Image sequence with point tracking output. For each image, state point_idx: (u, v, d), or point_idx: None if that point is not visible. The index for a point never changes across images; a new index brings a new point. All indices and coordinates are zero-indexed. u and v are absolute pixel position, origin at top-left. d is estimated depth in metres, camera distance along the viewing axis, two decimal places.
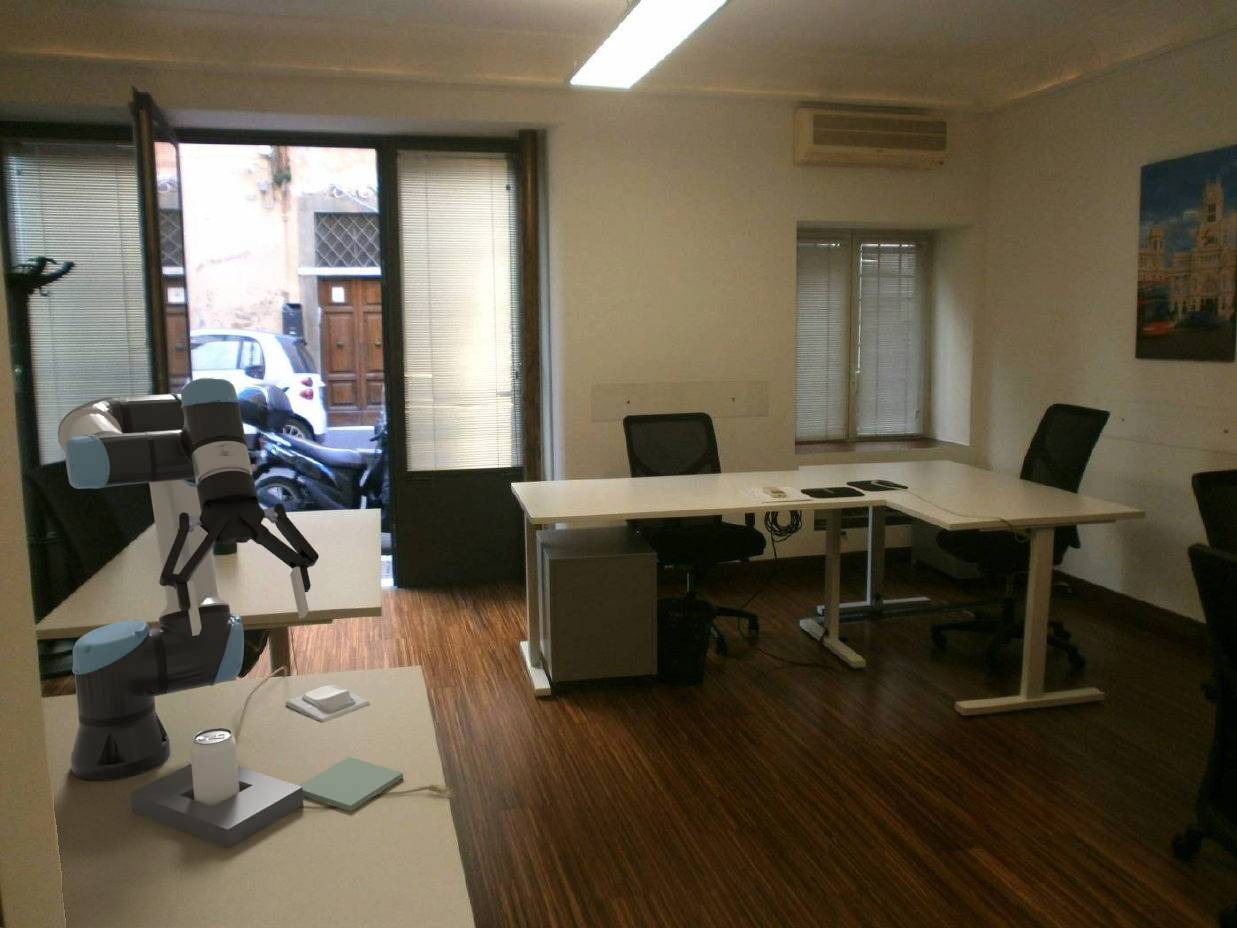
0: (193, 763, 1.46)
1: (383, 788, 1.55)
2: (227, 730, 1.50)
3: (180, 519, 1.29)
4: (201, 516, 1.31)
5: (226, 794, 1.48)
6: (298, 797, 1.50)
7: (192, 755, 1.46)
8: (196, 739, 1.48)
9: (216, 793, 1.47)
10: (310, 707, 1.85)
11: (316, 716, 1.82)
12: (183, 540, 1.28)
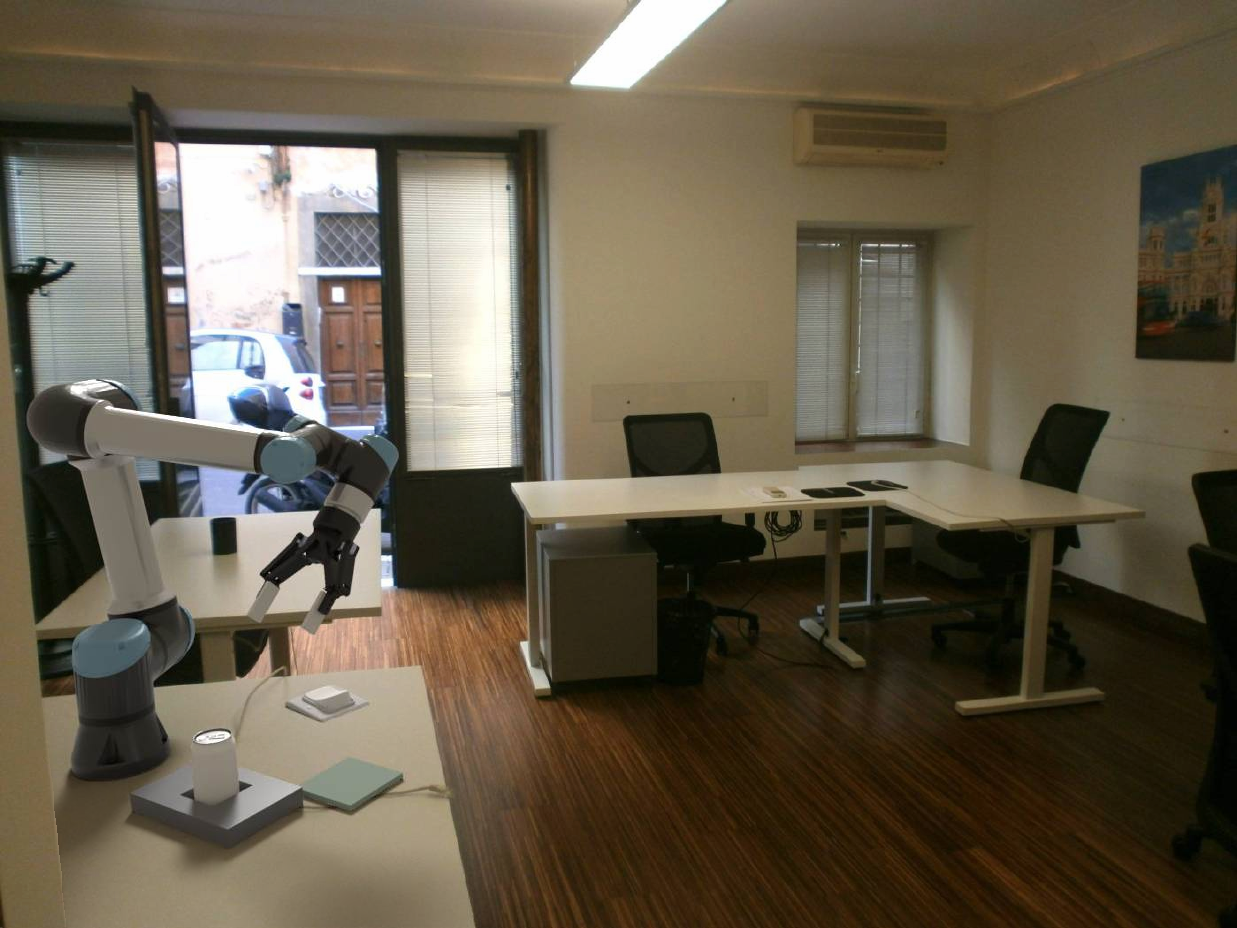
0: (193, 763, 1.46)
1: (383, 788, 1.55)
2: (227, 730, 1.50)
3: (357, 551, 1.62)
4: None
5: (226, 794, 1.48)
6: (298, 797, 1.50)
7: (192, 755, 1.46)
8: (196, 739, 1.48)
9: (216, 793, 1.47)
10: (310, 707, 1.85)
11: (316, 716, 1.82)
12: None
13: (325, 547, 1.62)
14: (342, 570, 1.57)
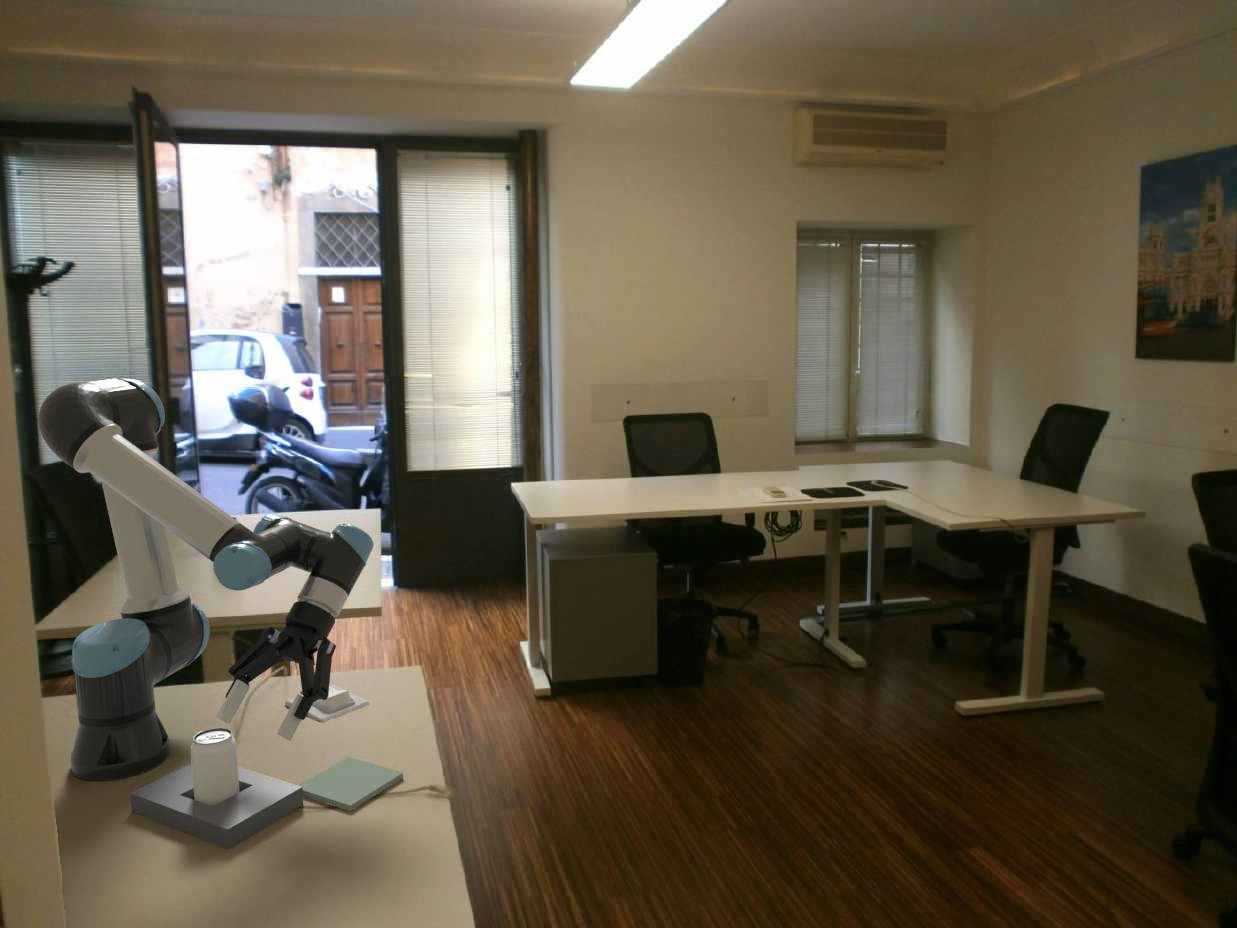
0: (193, 763, 1.46)
1: (383, 788, 1.55)
2: (227, 730, 1.50)
3: None
4: None
5: (226, 794, 1.48)
6: (298, 797, 1.50)
7: (192, 755, 1.46)
8: (196, 739, 1.48)
9: (216, 793, 1.47)
10: None
11: (315, 716, 1.82)
12: None
13: (300, 646, 1.57)
14: (320, 672, 1.53)
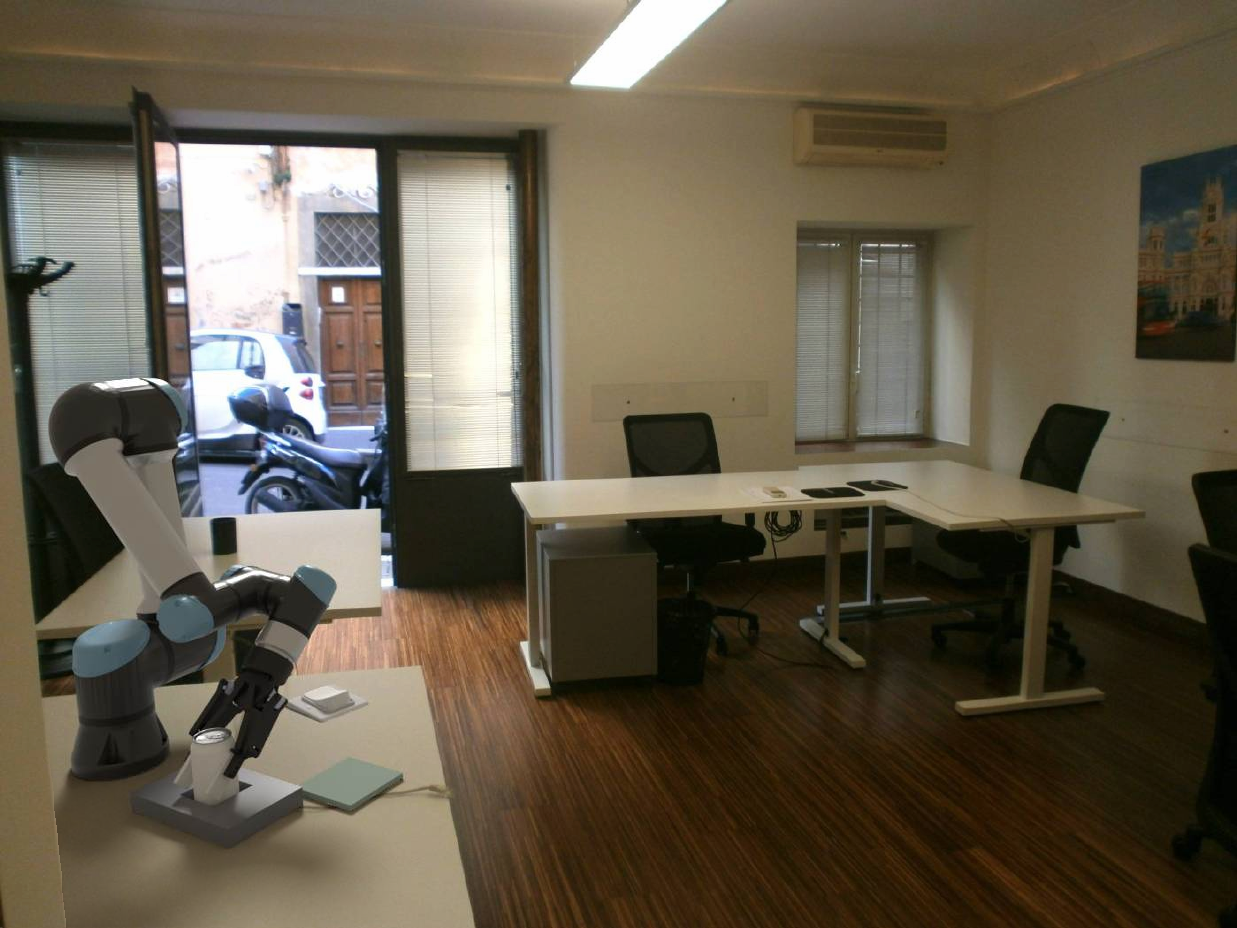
0: (193, 763, 1.46)
1: (383, 788, 1.55)
2: (227, 730, 1.50)
3: (284, 706, 1.52)
4: None
5: (226, 794, 1.48)
6: (298, 797, 1.50)
7: (192, 755, 1.46)
8: (196, 739, 1.48)
9: None
10: (310, 707, 1.85)
11: (315, 716, 1.82)
12: None
13: (252, 695, 1.52)
14: (257, 730, 1.48)
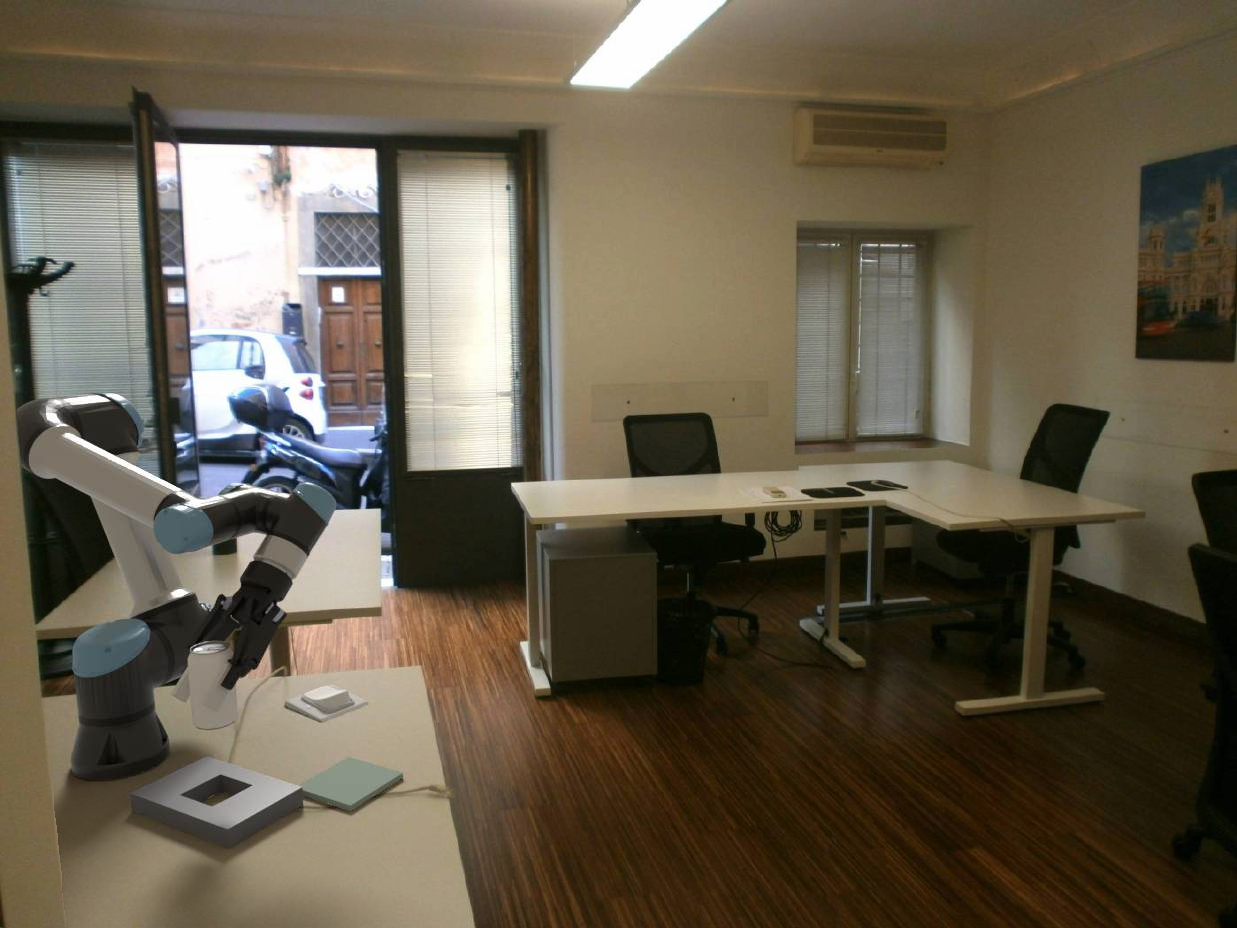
0: (190, 674, 1.44)
1: (383, 788, 1.55)
2: (225, 643, 1.48)
3: (283, 619, 1.50)
4: None
5: (224, 706, 1.45)
6: (298, 797, 1.50)
7: (189, 666, 1.44)
8: (193, 650, 1.46)
9: None
10: (309, 707, 1.85)
11: (315, 716, 1.82)
12: None
13: (250, 608, 1.50)
14: (255, 641, 1.46)
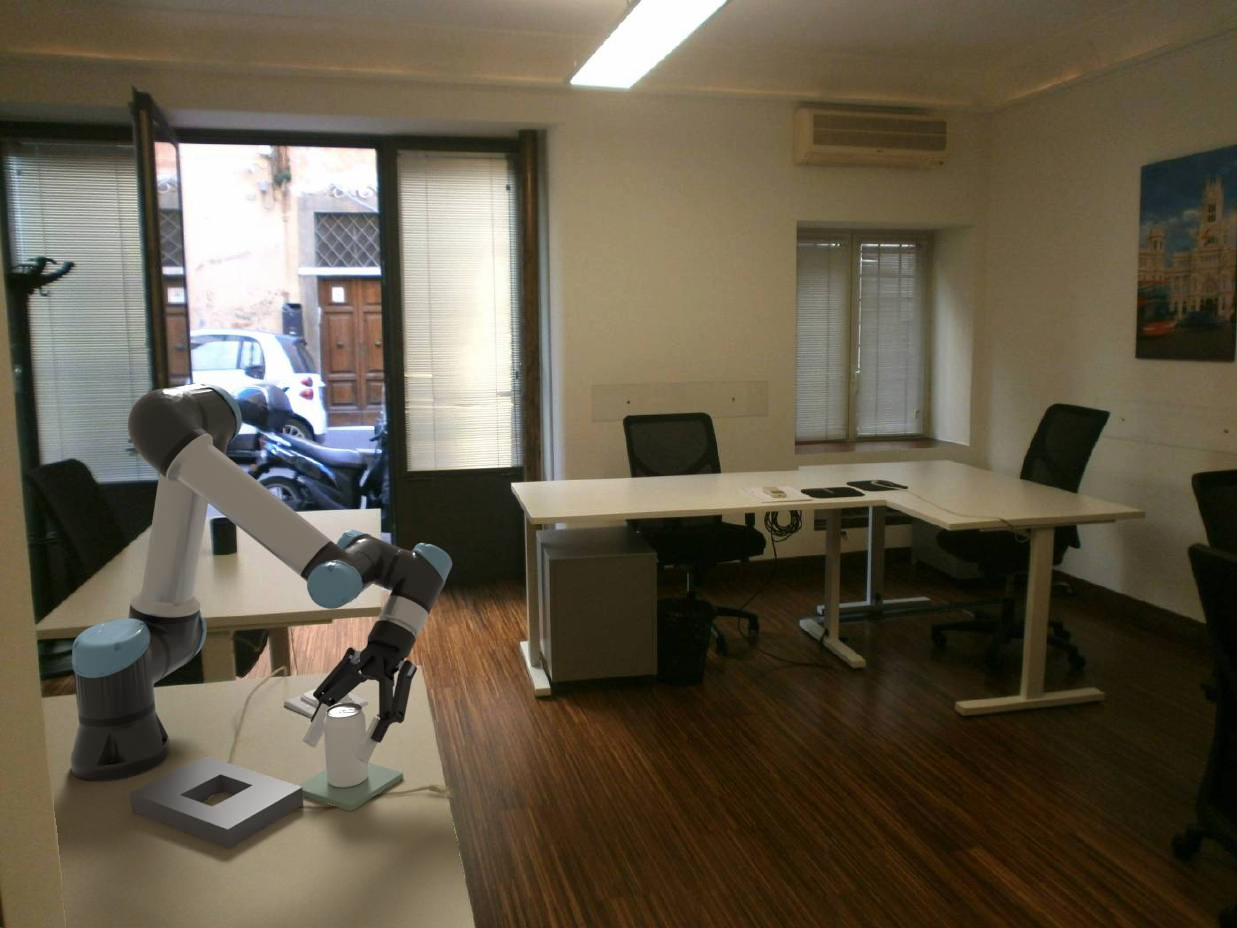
0: (327, 736, 1.53)
1: (383, 788, 1.55)
2: (356, 705, 1.57)
3: (414, 672, 1.59)
4: None
5: (358, 765, 1.54)
6: (298, 797, 1.50)
7: (326, 728, 1.53)
8: (329, 713, 1.54)
9: (349, 764, 1.53)
10: (309, 707, 1.85)
11: None
12: None
13: (382, 666, 1.58)
14: (398, 695, 1.54)
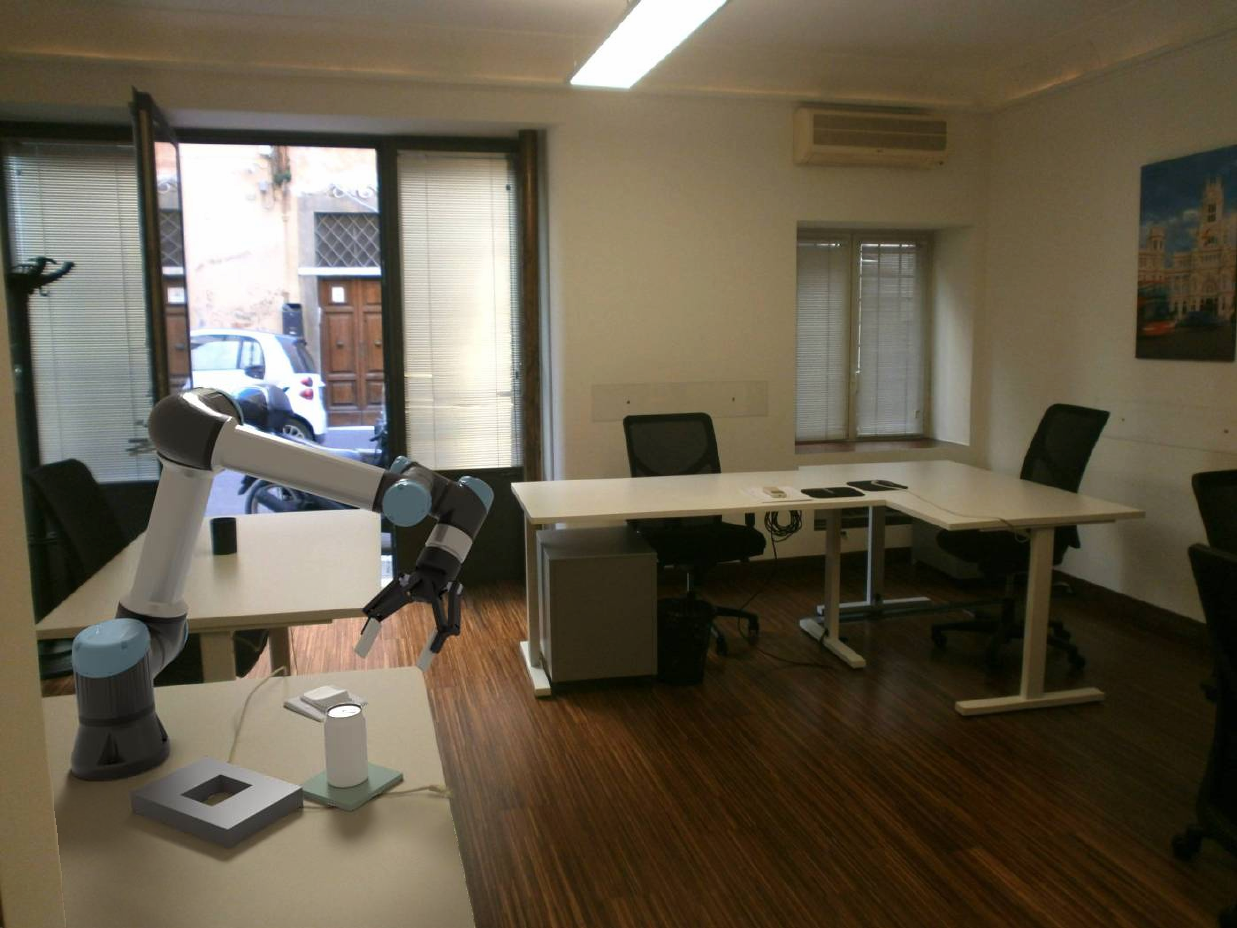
0: (327, 736, 1.53)
1: (383, 788, 1.55)
2: (356, 705, 1.57)
3: (462, 591, 1.68)
4: None
5: (358, 765, 1.54)
6: (298, 797, 1.50)
7: (326, 728, 1.53)
8: (329, 713, 1.54)
9: (349, 764, 1.53)
10: (309, 707, 1.85)
11: (315, 716, 1.82)
12: None
13: (432, 587, 1.68)
14: (452, 610, 1.63)
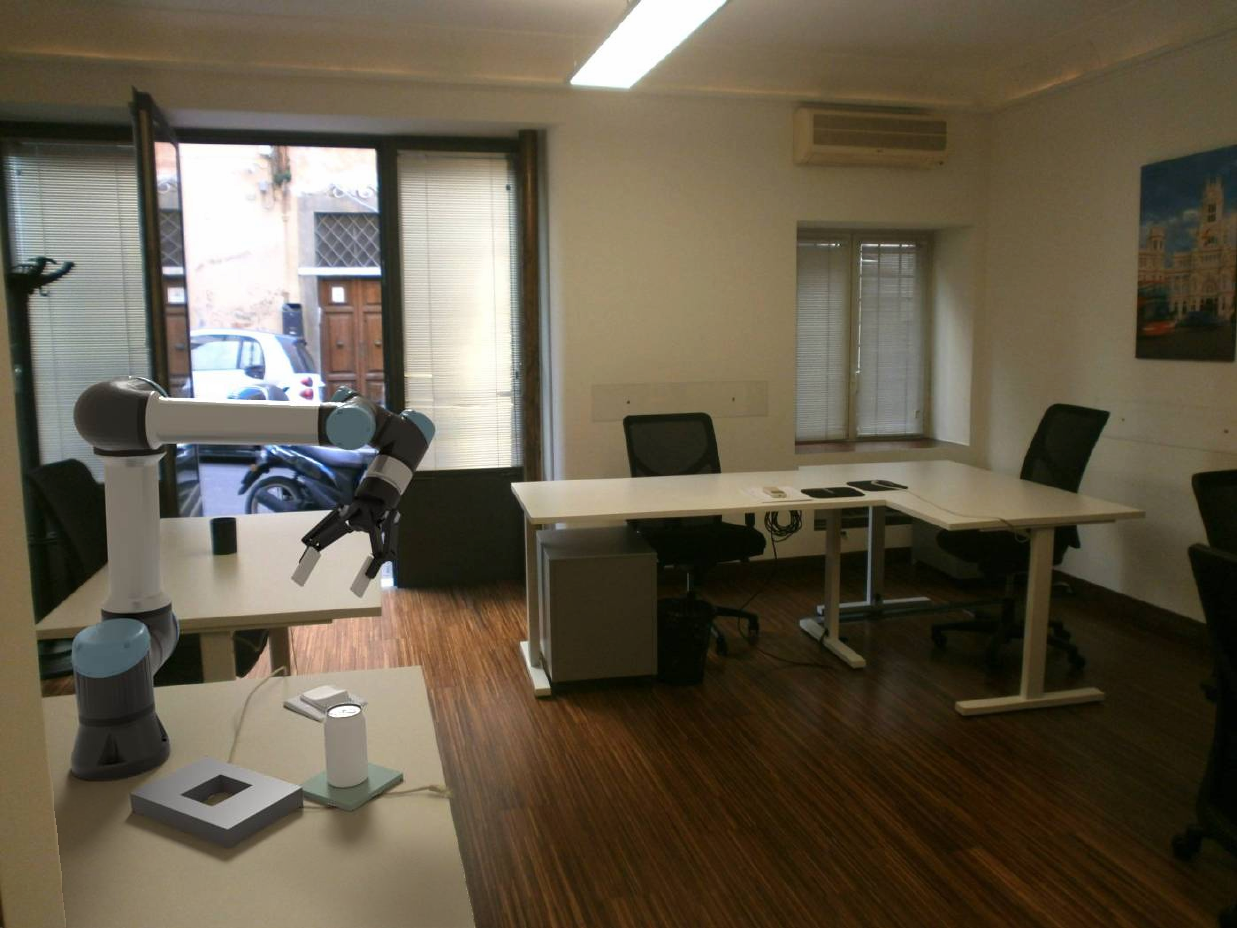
0: (327, 736, 1.53)
1: (383, 788, 1.55)
2: (356, 705, 1.57)
3: (400, 520, 1.69)
4: None
5: (358, 765, 1.54)
6: (298, 797, 1.50)
7: (326, 728, 1.53)
8: (329, 713, 1.54)
9: (349, 764, 1.53)
10: (309, 707, 1.85)
11: (314, 716, 1.82)
12: None
13: (369, 515, 1.69)
14: (388, 537, 1.64)
